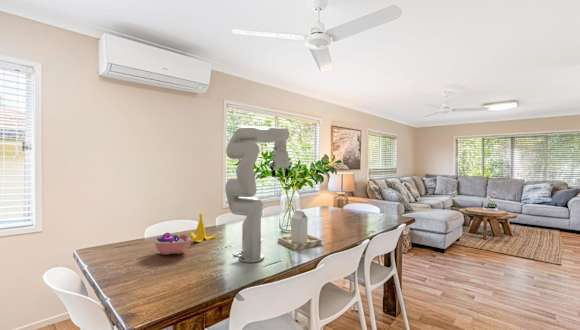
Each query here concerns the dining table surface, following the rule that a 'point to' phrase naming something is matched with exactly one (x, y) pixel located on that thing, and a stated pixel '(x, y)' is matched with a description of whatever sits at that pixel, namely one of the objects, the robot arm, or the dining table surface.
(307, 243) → the serving tray
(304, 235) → the milk carton
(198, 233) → the banana peel
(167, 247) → the cell model
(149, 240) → the dining table surface
